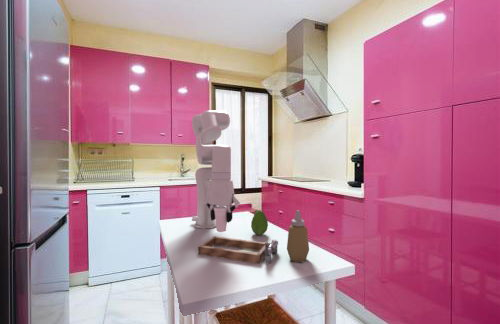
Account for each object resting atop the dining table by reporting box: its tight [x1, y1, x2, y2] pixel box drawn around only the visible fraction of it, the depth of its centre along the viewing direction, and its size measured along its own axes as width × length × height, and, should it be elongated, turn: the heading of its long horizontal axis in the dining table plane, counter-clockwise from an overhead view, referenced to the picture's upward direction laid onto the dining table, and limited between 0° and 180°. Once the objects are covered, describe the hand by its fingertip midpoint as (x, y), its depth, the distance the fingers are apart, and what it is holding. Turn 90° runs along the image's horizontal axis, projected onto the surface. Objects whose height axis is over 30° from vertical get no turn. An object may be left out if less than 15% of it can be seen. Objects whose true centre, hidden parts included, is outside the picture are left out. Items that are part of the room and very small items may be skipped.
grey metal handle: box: [264, 239, 279, 264], centre depth 93 cm, size 2×12×8 cm, turn 160°
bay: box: [197, 236, 271, 265], centre depth 99 cm, size 25×13×3 cm, turn 70°
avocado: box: [250, 209, 269, 236], centre depth 120 cm, size 8×8×12 cm
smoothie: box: [214, 205, 228, 233], centre depth 101 cm, size 6×6×14 cm
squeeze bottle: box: [286, 209, 310, 263], centre depth 92 cm, size 8×8×18 cm
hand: (221, 220), depth 101 cm, fingers closed on smoothie, 6 cm apart
